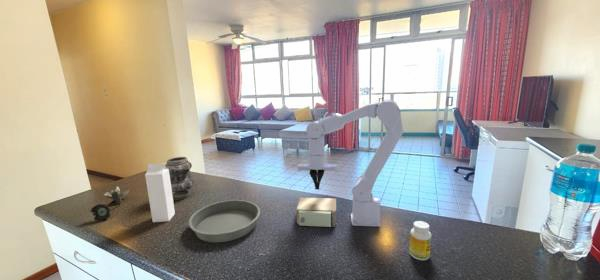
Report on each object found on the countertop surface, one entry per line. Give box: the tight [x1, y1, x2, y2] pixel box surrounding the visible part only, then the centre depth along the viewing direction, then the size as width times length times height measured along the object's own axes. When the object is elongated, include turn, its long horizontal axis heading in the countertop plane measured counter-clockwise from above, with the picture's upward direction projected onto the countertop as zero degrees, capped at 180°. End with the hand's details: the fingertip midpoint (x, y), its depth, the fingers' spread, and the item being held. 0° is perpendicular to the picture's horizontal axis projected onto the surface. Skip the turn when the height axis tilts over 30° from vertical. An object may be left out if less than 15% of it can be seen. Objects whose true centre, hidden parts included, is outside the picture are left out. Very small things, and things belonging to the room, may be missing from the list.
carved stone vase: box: [165, 156, 195, 201], centre depth 117 cm, size 12×12×18 cm
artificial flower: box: [90, 185, 130, 221], centre depth 108 cm, size 9×22×10 cm, turn 12°
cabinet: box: [296, 197, 337, 226], centre depth 94 cm, size 14×10×6 cm
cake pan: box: [188, 199, 261, 243], centre depth 91 cm, size 25×25×4 cm
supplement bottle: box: [408, 220, 432, 261], centre depth 71 cm, size 5×5×10 cm
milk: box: [144, 162, 176, 223], centre depth 96 cm, size 6×6×22 cm
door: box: [298, 211, 336, 228], centre depth 87 cm, size 12×3×6 cm, turn 82°
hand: (317, 188), depth 95 cm, fingers closed
